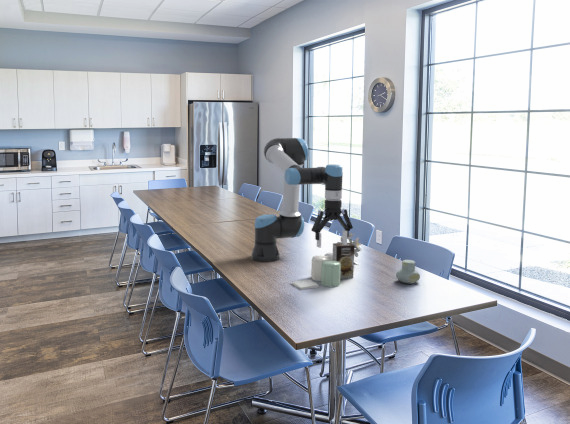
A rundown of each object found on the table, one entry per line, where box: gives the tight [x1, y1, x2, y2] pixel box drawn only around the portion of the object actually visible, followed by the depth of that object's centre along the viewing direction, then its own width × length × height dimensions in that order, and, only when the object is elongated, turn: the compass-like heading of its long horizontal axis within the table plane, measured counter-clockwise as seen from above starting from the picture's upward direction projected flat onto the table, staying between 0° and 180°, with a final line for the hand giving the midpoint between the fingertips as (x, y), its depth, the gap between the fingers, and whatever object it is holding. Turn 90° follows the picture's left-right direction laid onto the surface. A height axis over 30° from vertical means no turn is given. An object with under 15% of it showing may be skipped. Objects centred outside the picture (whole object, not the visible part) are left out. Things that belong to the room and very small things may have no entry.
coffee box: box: [332, 242, 356, 280], centre depth 250 cm, size 9×6×16 cm
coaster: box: [291, 279, 319, 291], centre depth 237 cm, size 9×9×1 cm
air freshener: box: [395, 259, 421, 285], centre depth 243 cm, size 11×8×10 cm
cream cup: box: [310, 255, 330, 282], centre depth 247 cm, size 8×8×10 cm
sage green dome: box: [320, 260, 341, 288], centre depth 239 cm, size 8×8×10 cm
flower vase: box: [323, 232, 362, 265], centre depth 267 cm, size 13×18×25 cm
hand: (331, 245), depth 236 cm, fingers open, 13 cm apart
